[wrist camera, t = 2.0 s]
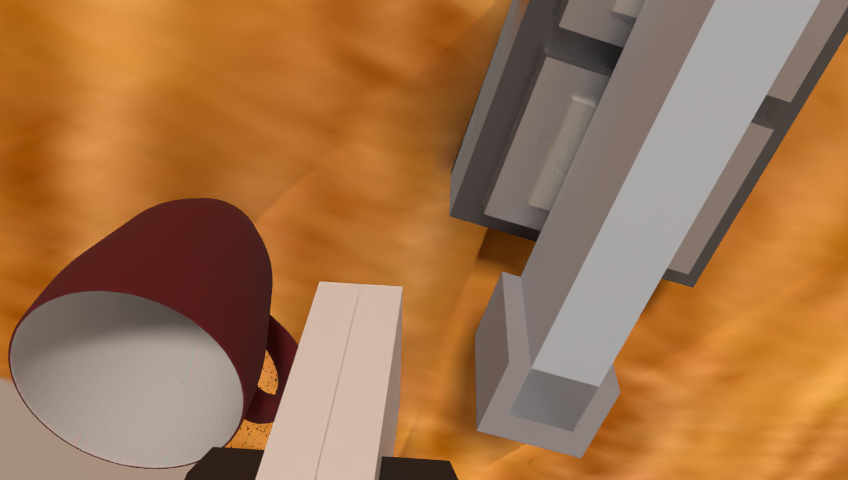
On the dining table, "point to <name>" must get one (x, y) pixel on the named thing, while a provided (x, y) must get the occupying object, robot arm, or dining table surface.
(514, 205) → the grey stepped machine part
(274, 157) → the dining table surface
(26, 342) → the mug
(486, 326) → the light grey bar
